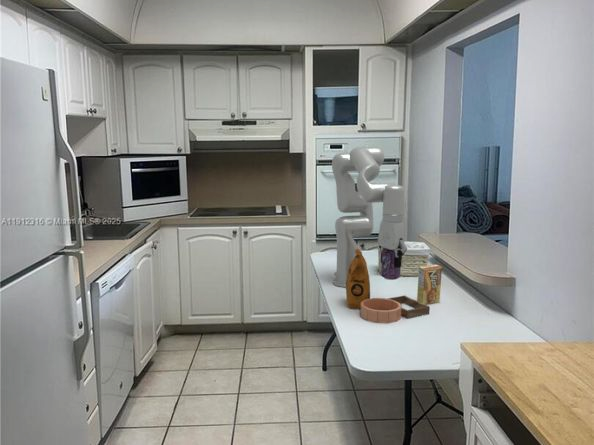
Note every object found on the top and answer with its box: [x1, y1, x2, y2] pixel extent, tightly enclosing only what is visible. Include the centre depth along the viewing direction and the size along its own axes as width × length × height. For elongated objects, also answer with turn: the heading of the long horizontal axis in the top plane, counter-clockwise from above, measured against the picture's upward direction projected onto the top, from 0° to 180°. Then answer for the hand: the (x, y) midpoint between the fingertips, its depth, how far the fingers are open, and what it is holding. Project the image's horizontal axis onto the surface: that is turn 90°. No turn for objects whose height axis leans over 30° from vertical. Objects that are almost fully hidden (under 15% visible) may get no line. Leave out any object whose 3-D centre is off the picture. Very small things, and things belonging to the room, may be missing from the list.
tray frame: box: [387, 294, 431, 320], centre depth 195 cm, size 15×11×3 cm
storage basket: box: [376, 241, 431, 278], centre depth 247 cm, size 24×16×15 cm
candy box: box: [416, 264, 443, 305], centre depth 203 cm, size 9×4×15 cm, turn 116°
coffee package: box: [345, 248, 371, 310], centre depth 200 cm, size 10×12×22 cm
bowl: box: [359, 297, 403, 324], centre depth 189 cm, size 15×15×4 cm
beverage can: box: [380, 247, 401, 281], centre depth 188 cm, size 7×7×12 cm
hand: (390, 264), depth 188 cm, fingers closed on beverage can, 6 cm apart
